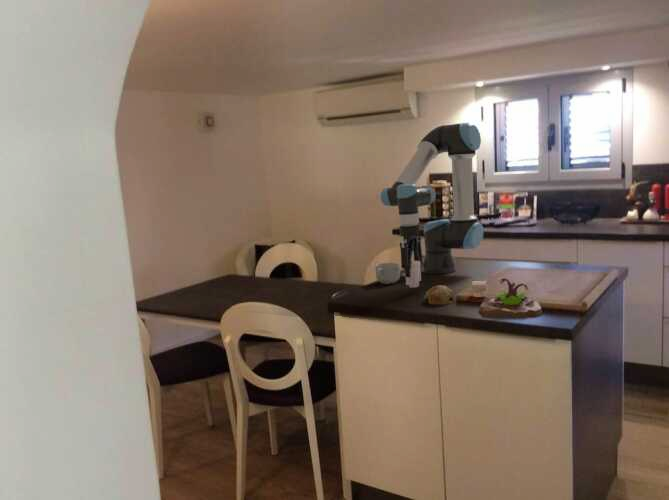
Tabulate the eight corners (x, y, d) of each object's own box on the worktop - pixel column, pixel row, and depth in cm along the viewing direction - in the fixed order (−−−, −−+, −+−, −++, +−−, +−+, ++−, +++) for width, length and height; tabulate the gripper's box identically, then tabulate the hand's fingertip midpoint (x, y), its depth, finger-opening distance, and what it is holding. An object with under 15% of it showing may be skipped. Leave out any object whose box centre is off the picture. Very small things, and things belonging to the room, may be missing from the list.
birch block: (473, 294, 226) (472, 281, 226) (487, 294, 225) (486, 281, 224) (472, 297, 222) (471, 284, 221) (486, 297, 220) (485, 284, 219)
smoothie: (421, 287, 232) (419, 252, 230) (405, 288, 234) (402, 253, 231) (422, 284, 238) (420, 249, 236) (406, 284, 240) (403, 250, 237)
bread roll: (443, 315, 214) (451, 296, 211) (418, 302, 219) (425, 283, 216) (453, 308, 223) (461, 290, 220) (429, 295, 227) (436, 277, 224)
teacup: (387, 278, 267) (386, 261, 266) (406, 281, 260) (405, 262, 258) (366, 285, 258) (364, 267, 257) (385, 287, 250) (384, 268, 249)
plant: (482, 303, 213) (480, 272, 212) (540, 303, 207) (539, 271, 206) (478, 319, 194) (476, 285, 193) (542, 319, 188) (541, 284, 187)
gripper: (411, 220, 242) (416, 277, 246) (388, 228, 226) (393, 288, 230) (428, 220, 238) (432, 277, 241) (406, 228, 222) (411, 289, 226)
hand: (413, 282), depth 236 cm, fingers closed on smoothie, 6 cm apart
